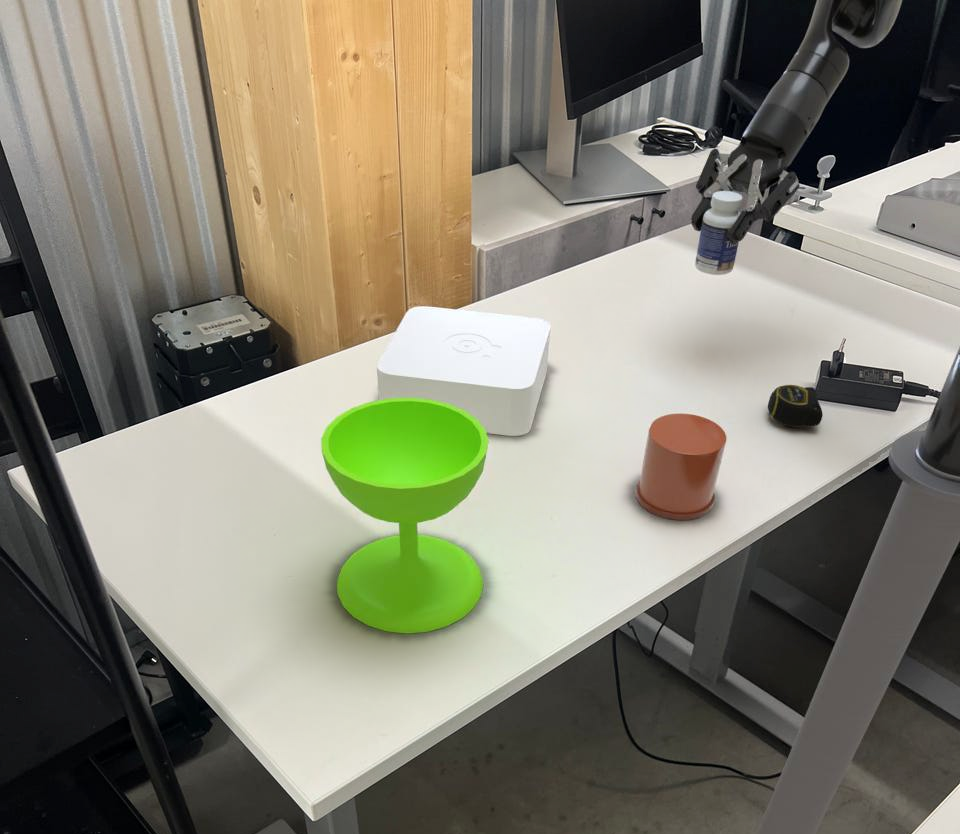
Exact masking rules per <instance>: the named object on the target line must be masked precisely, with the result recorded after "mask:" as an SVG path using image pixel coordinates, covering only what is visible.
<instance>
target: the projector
mask: <svg viewBox="0 0 960 834" xmlns="http://www.w3.org/2000/svg"><path fill="white" fill-rule="evenodd" d="M550 337H551V324H550V322H549V321H546V320H545V319H542V318H538V317H530V316H521V315H511V314H504V313H503V314H502V313H494V312H493V313H492V312H485V311H474V310H473V311H472V310H464V309H456V308H455V309H454V308H445V307H438V306H429V305H427V306H426V305H423V306H421V305H419V306H414V307H410V308H409V309H408V310H407V311H406V313H405V315H404V316H403V317H402V320H401V321H400V323H399V325H398V326H397V328H396V330H395V331H394V333H393V336H392V337H391V339H390V340H389V342H388V344H387V346H386V348H385V350H384V351H383V353H382V355H381V357H380V359H379V360H378V362H377V364H376V376H377V377H376V379H377V395H378V400H384V399H390V398H419V399H430V400H434V401H438V402H443V403H447V404H450V405H452V406H455V407H457V408H459V409H462V410H464V411H466V412H467V413H469V414H470V415H471V416H473V417H474V418H476V419H477V420H478V421H479V422H480V424H481V425H482V426H483V428H484V429H485V430H486V434H492V435H500V436H508V437H519V436H524V435H526V434H528V433H529V432H531V429H532V426H533V422H534V419H535V415H536V412H537V409H538V405H539V401H540V398H541V394H542V391H543V388H544V383H545V380H546V376H547V373H548V364H549V363H548V361H549V350H550Z"/></svg>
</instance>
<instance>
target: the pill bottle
mask: <svg viewBox="0 0 960 834" xmlns="http://www.w3.org/2000/svg"><path fill="white" fill-rule="evenodd" d="M742 204H743V196H742V194H740V193H739V192H730V191H718V192H715V193H713V195H712V200H711V207H712V208H711V209H709V210H707V211H706V212H705V214H704V217H703V221H702V227H701V231H700V233H699V239H698V244H697V245H698V246H697V251H696V256H695V262H694V266H695V269H697V270H698V271H699V272H701V273H703V274H708V275H712V276H723V275H727V274H729V273H731V272H732V271H733V270H734V266H735V261H736V258H737V253H738V248H739V243H740V241H738V242H737V244H732V243H730V241H729V239H728V237H727V235H728V232H729V231H730V229H731V228H732V226H733V225H734V223H735V221H736V220H737V218H738V217H739V215H740V213H741V211H740V210H741V208H742Z"/></svg>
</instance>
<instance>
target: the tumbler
mask: <svg viewBox="0 0 960 834" xmlns="http://www.w3.org/2000/svg"><path fill="white" fill-rule="evenodd" d="M727 440H728V439H727V434H726V432H725V430H724V429H723V427H722V426H721V425H720V424H718V423H716V422H715V421H713V420H711V419H709V418H706V417H704V416H700V415H696V414H692V413H680V412H679V413H669V414H664V415H662V416H659V417H657V418H656V419H655V420H653V421H652V422H651V423H650V425H649V427H648V431H647V439H646V443H645V449H644V456H643V460H642V464H641V465H642V466H641V472H640V476H639V477H640V478H639V480H638V481H637V483H636V487H635V498H636V500H637V501H638V504H639V505H640V506H641V507H642V508H643V509H644V510H646V511H647V512H649V513H651V514H653V515H655V516H657V517H660V518H663V519H668V520H674V521H688V520H689V521H690V520H694V519H699V518H701V517H703V516H705V515H707V514H708V513H709V512H711V510H712V509H713V506H714V503H715V498H716V494H715V489H716V485H717V482H718V481H717V480H718V476H719V473H720V470H721V469H720V468H721V465H722V459H723V456H724V452H725V447H726V443H727Z"/></svg>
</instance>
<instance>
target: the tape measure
mask: <svg viewBox="0 0 960 834" xmlns="http://www.w3.org/2000/svg"><path fill="white" fill-rule="evenodd" d="M767 411H768V414H769V415H770V417H771V418H772V420H774V421H776V422H777V423H778V424H781V425H783V426H787V427H790V428H791V427H792V428H801V427H816V426H819V425H820V424H821V422H822V419H823V409H822V406H821V404H820V402H819V397H818V393H817V390H816V389H815V388H814V387H812V386H806V387H803V386H800V385H796V384H784V385H780V386H777V387H776V388H775V389H774V390H773V391H772V393H771V394H770V396H769V399H768V403H767Z"/></svg>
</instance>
